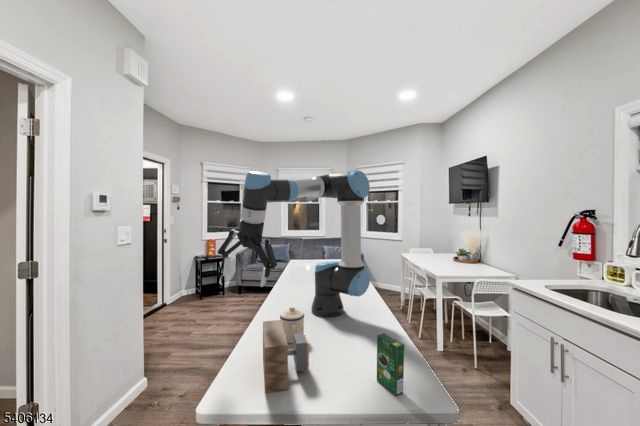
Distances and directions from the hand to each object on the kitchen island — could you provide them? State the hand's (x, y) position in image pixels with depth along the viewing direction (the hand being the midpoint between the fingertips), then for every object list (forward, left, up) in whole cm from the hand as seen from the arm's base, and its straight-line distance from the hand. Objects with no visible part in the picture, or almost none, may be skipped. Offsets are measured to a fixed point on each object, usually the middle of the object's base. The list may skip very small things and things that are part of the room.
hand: (244, 279), depth 97 cm
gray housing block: (-14, +15, -23) cm, 31 cm away
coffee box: (-39, +29, -25) cm, 55 cm away
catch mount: (-9, +15, -24) cm, 30 cm away
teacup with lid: (-17, -5, -25) cm, 30 cm away
